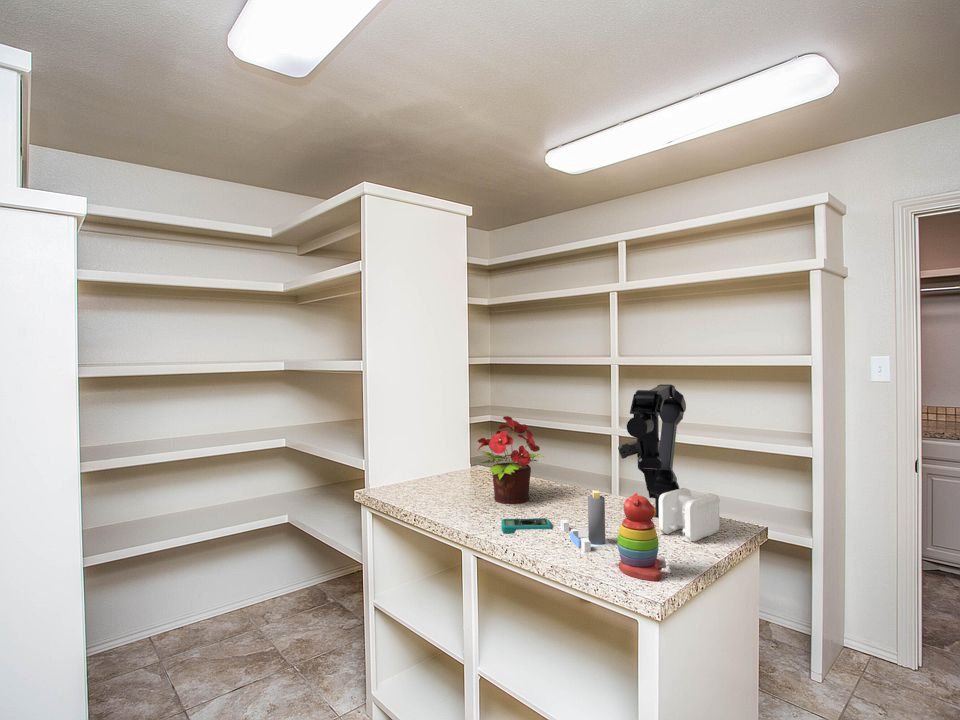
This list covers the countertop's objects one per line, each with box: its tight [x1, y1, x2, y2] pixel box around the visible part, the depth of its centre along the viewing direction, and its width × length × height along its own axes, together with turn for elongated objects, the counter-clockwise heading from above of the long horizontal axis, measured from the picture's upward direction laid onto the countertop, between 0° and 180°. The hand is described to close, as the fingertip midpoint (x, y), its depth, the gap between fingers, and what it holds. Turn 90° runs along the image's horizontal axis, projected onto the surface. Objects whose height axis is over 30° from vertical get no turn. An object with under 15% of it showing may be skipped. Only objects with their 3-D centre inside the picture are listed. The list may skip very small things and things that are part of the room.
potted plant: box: [474, 415, 547, 505], centre depth 190 cm, size 30×27×30 cm
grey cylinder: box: [587, 490, 606, 545], centre depth 140 cm, size 4×4×14 cm
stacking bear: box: [617, 492, 663, 582], centre depth 124 cm, size 11×10×18 cm
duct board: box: [560, 519, 613, 553], centre depth 144 cm, size 20×13×4 cm, turn 10°
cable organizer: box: [658, 487, 721, 543], centre depth 149 cm, size 15×11×12 cm
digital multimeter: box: [500, 517, 553, 535], centre depth 155 cm, size 7×15×3 cm, turn 91°
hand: (649, 487), depth 151 cm, fingers open, 9 cm apart
